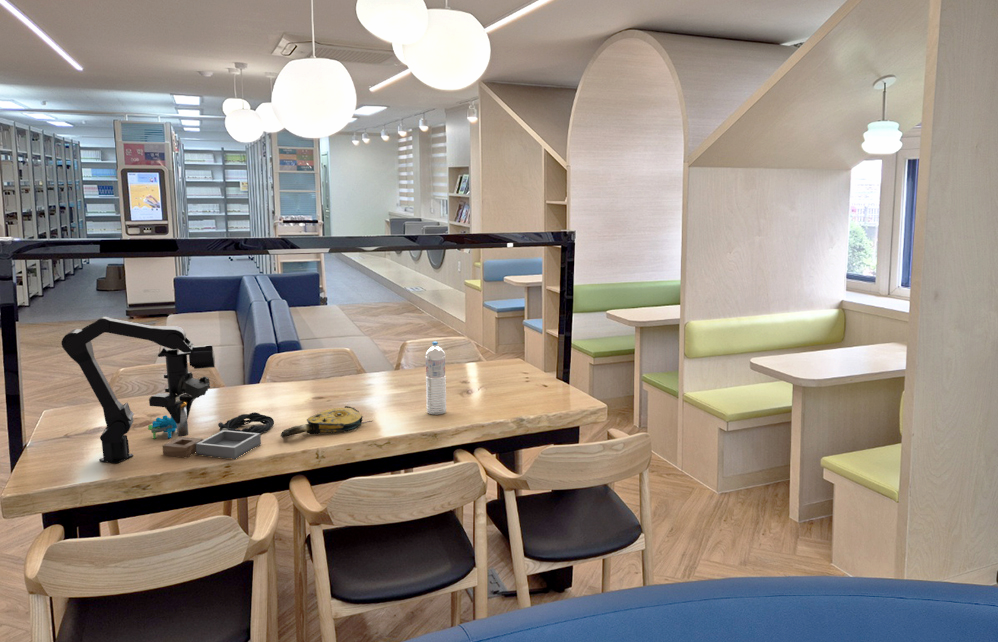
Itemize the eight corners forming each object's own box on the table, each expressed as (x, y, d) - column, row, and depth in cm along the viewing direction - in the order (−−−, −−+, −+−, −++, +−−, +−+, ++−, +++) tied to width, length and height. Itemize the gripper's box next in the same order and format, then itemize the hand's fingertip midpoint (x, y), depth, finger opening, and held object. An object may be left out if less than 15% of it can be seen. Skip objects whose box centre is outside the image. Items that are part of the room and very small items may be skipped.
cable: (269, 421, 248) (268, 409, 247) (281, 432, 237) (280, 419, 236) (215, 430, 239) (214, 417, 238) (225, 442, 228) (224, 429, 227)
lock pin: (184, 437, 216) (181, 404, 214) (173, 436, 217) (170, 403, 215) (192, 433, 219) (189, 400, 217) (181, 432, 220) (179, 400, 218)
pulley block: (270, 416, 232) (352, 398, 252) (270, 433, 233) (352, 413, 254) (292, 433, 222) (376, 413, 242) (291, 451, 224) (375, 429, 244)
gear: (190, 424, 239) (181, 410, 230) (190, 441, 236) (181, 427, 227) (154, 431, 237) (143, 417, 228) (154, 448, 233) (143, 434, 225)
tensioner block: (186, 457, 214) (185, 447, 213) (163, 455, 216) (162, 445, 215) (204, 448, 221) (203, 438, 221) (181, 446, 224) (180, 436, 223)
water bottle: (431, 408, 261) (429, 339, 256) (449, 410, 259) (448, 340, 254) (423, 414, 254) (421, 343, 250) (441, 416, 252) (440, 344, 248)
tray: (235, 459, 212) (234, 447, 212) (196, 455, 216) (195, 443, 215) (261, 444, 225) (260, 433, 224) (224, 440, 228) (223, 429, 228)
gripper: (179, 379, 203) (184, 434, 206) (221, 364, 221) (225, 414, 224) (145, 377, 206) (150, 430, 209) (189, 362, 224) (193, 411, 227)
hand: (181, 421), depth 217 cm, fingers closed on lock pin, 3 cm apart
